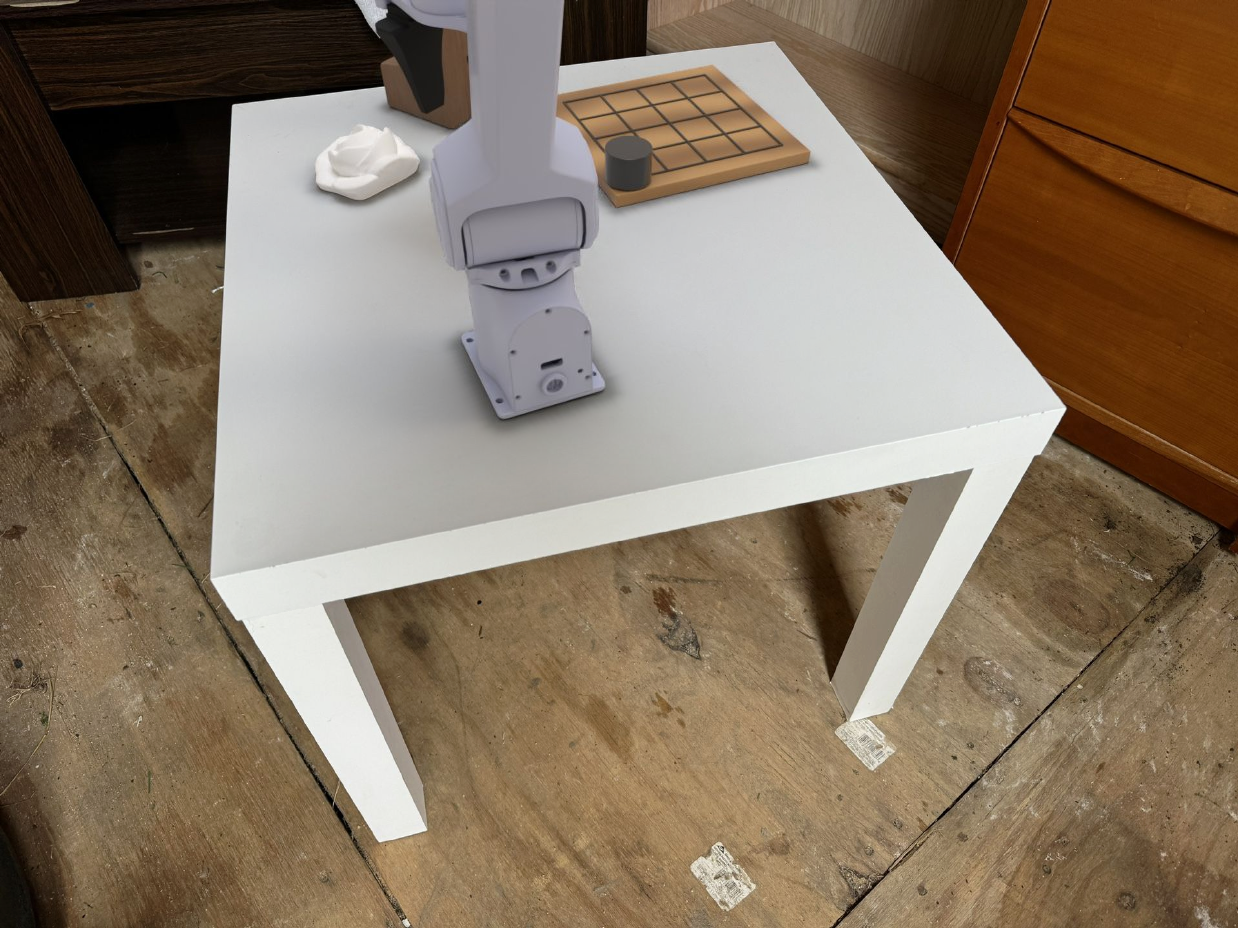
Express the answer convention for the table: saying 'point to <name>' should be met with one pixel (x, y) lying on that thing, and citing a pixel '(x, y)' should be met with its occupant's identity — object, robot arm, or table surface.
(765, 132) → the board
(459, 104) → the wooden block
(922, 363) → the table surface
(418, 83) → the robot arm
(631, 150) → the dark grey cylinder puck
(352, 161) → the rose
